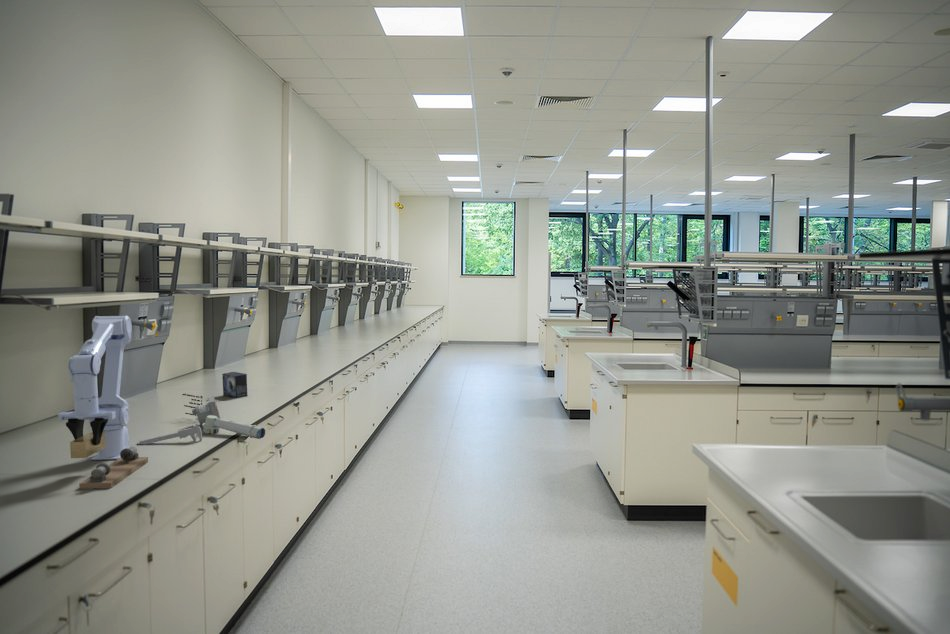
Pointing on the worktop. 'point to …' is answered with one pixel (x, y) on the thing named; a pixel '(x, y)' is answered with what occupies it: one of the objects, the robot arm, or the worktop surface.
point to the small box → (234, 384)
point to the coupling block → (86, 446)
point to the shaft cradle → (114, 470)
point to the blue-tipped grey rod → (232, 427)
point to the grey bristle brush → (203, 409)
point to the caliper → (176, 435)
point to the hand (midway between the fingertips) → (88, 444)
